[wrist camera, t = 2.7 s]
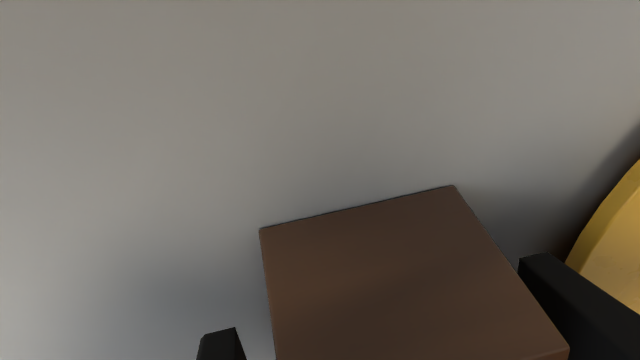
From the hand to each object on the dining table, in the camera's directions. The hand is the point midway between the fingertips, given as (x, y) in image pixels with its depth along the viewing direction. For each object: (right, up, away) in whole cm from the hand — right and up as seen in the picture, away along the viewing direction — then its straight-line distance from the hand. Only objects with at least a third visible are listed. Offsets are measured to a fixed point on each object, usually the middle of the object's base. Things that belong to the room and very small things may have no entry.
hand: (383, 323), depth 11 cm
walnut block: (0, +1, +1) cm, 1 cm away
